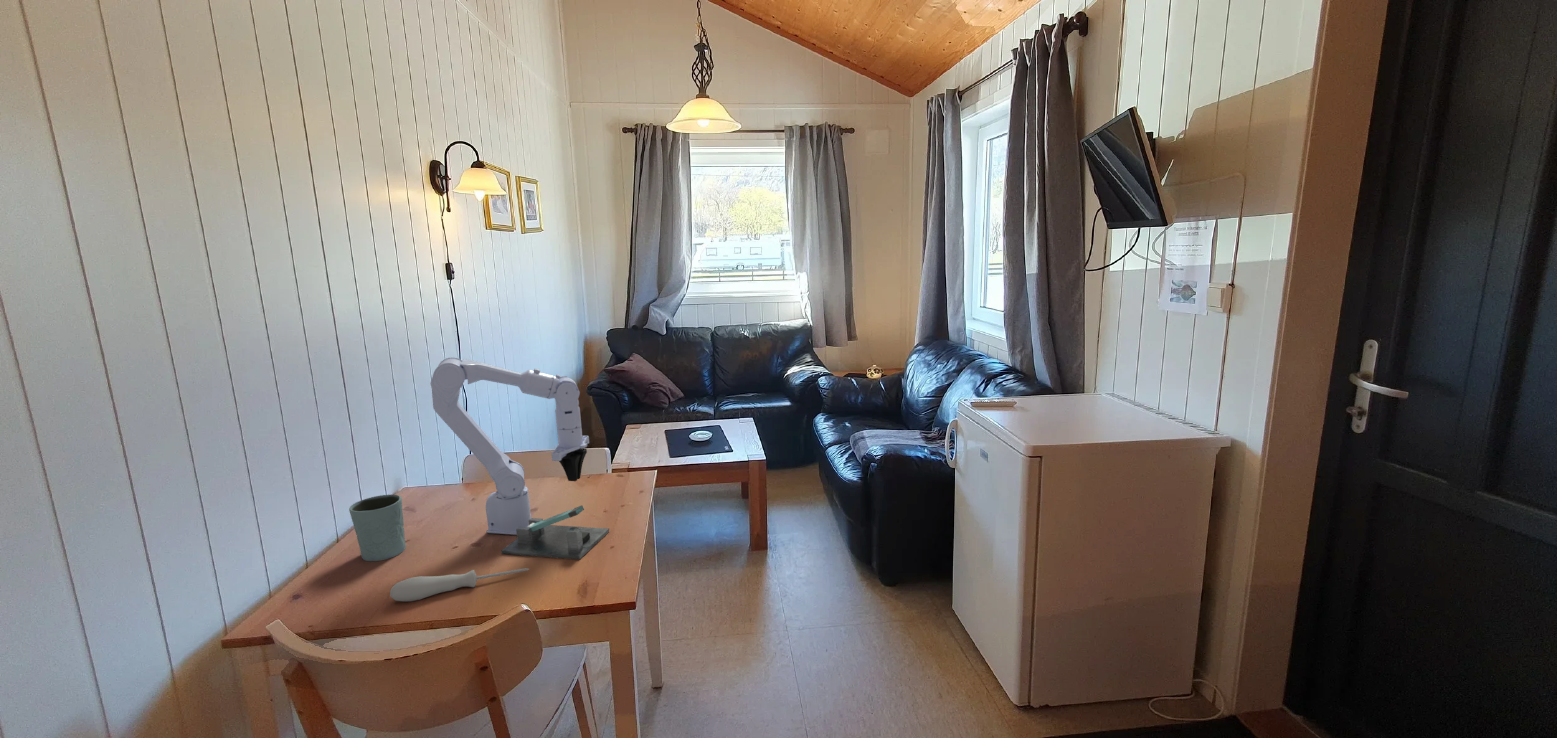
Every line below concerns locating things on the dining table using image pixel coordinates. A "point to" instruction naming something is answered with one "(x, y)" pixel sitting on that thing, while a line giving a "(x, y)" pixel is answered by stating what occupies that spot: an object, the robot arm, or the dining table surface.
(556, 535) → the plate
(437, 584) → the screwdriver
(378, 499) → the green cup
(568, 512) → the teal rectangular bar
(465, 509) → the dining table surface
